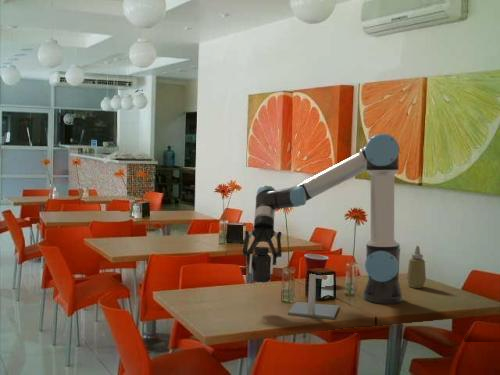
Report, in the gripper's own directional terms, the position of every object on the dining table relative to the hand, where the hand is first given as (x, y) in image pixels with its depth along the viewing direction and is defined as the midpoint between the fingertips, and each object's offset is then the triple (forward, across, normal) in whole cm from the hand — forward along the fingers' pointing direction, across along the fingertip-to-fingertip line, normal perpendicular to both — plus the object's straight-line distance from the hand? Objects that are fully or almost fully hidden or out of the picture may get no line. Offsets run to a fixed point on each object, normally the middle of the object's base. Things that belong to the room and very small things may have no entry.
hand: (260, 271), depth 212 cm
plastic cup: (-28, -21, -49) cm, 60 cm away
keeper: (+7, -19, -14) cm, 25 cm away
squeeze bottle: (-27, -64, -49) cm, 86 cm away
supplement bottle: (+1, 0, -6) cm, 6 cm away
